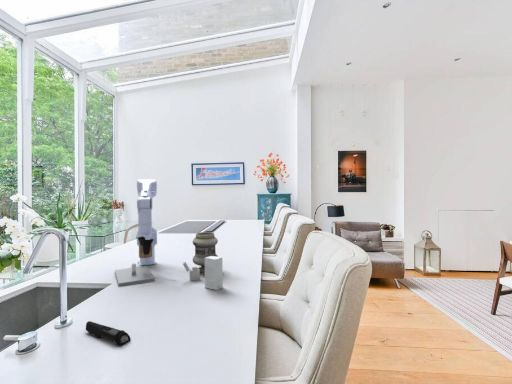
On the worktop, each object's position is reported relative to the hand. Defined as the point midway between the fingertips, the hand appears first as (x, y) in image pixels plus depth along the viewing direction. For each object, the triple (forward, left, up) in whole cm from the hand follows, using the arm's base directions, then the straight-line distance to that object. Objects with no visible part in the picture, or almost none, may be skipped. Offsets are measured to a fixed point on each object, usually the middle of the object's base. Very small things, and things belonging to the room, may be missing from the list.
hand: (145, 253), depth 137 cm
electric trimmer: (+56, -18, -10) cm, 59 cm away
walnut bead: (0, 0, -2) cm, 2 cm away
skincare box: (+33, +21, -10) cm, 40 cm away
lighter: (+19, +16, -10) cm, 26 cm away
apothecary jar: (+9, +26, -10) cm, 29 cm away
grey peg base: (+2, -5, -10) cm, 11 cm away
